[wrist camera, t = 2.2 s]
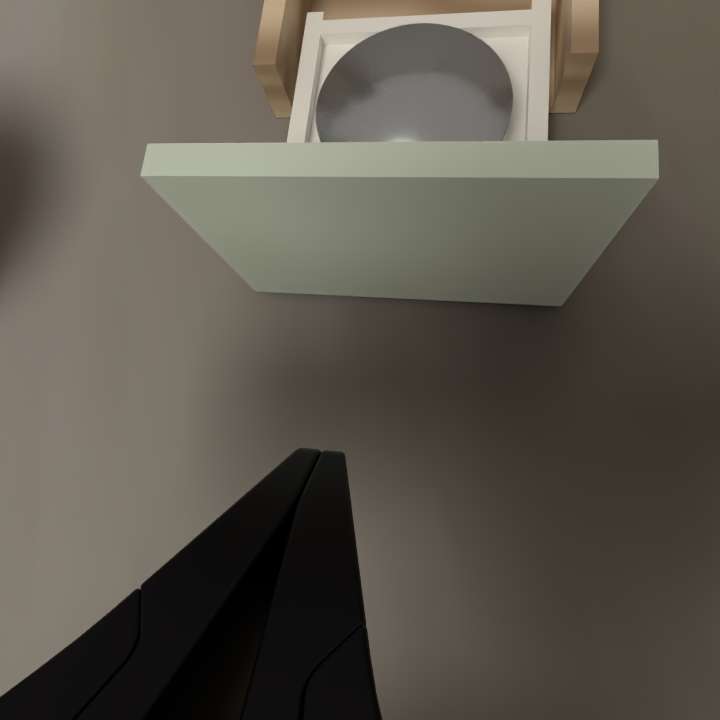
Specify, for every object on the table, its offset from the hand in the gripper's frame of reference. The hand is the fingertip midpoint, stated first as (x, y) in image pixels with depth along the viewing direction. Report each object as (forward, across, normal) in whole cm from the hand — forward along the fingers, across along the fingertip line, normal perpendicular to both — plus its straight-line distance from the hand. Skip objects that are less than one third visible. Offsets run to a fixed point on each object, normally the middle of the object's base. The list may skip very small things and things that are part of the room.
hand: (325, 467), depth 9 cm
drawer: (+17, 0, -2) cm, 17 cm away
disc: (+17, 0, -3) cm, 18 cm away
